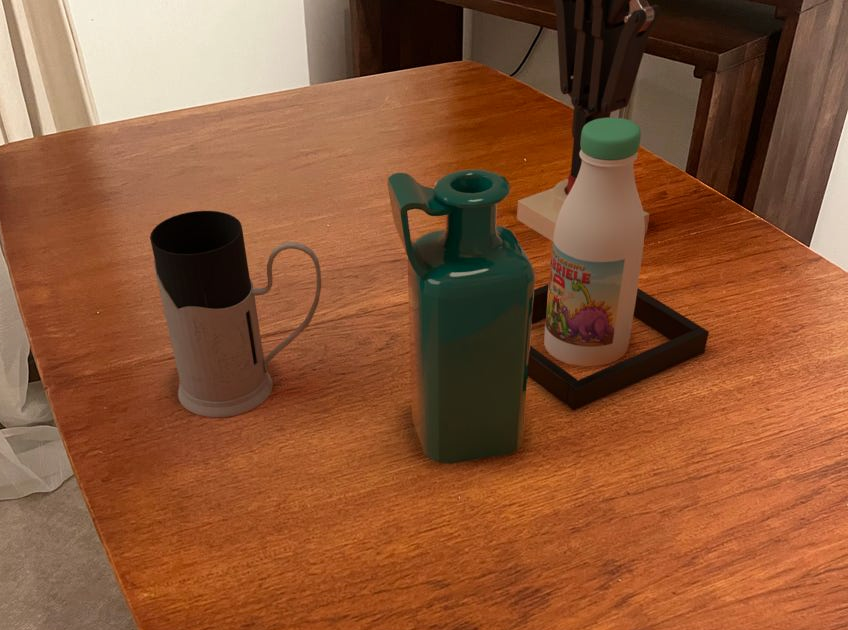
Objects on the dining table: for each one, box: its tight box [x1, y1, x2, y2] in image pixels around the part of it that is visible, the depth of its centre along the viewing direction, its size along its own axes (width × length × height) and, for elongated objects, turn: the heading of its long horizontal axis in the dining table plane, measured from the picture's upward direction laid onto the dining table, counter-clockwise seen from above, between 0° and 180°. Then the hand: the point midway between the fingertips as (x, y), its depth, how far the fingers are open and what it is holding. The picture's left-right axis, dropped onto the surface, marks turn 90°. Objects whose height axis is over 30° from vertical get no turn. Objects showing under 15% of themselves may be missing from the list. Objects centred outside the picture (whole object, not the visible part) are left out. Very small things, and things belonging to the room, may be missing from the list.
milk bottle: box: [543, 117, 646, 367], centre depth 87 cm, size 8×8×20 cm
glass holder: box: [149, 210, 322, 418], centre depth 88 cm, size 9×14×15 cm, turn 88°
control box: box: [516, 178, 650, 242], centre depth 109 cm, size 11×9×4 cm
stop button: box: [567, 173, 576, 195], centre depth 107 cm, size 4×4×2 cm
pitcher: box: [387, 168, 536, 464], centre depth 78 cm, size 10×8×22 cm
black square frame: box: [528, 283, 710, 411], centre depth 93 cm, size 15×15×3 cm
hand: (585, 173), depth 106 cm, fingers closed
